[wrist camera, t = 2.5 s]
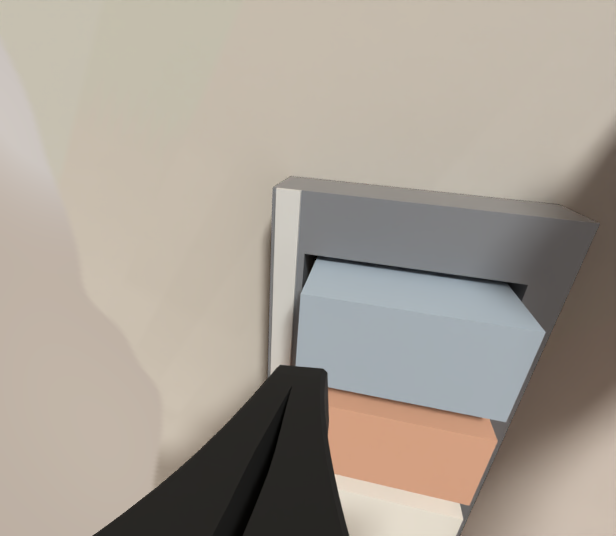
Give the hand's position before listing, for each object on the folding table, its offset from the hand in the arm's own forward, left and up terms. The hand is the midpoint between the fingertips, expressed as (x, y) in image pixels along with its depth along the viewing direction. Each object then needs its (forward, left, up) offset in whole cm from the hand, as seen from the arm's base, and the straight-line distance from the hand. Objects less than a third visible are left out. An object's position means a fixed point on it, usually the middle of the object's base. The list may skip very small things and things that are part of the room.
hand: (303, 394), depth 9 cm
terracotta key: (-3, +6, -7) cm, 9 cm away
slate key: (-3, +1, -7) cm, 8 cm away
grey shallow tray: (-3, +6, -9) cm, 11 cm away
